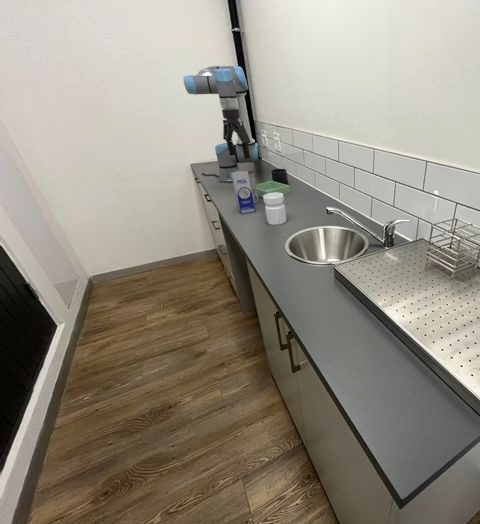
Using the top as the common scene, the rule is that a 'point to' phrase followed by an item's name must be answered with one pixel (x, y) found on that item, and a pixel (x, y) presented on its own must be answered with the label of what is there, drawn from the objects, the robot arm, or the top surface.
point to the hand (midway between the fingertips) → (239, 156)
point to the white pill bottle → (275, 208)
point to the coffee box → (253, 186)
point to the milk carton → (243, 191)
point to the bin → (272, 188)
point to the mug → (280, 176)
